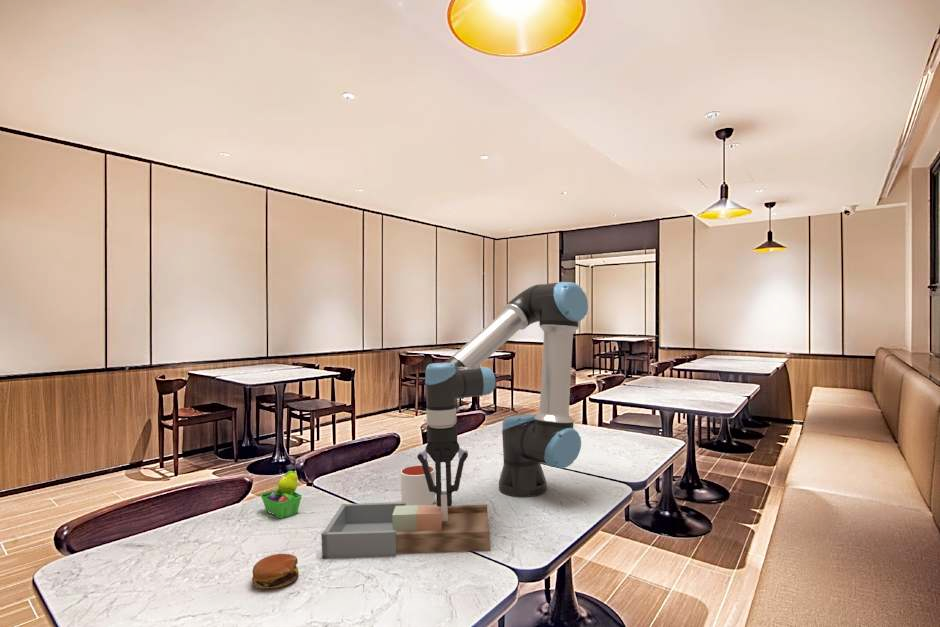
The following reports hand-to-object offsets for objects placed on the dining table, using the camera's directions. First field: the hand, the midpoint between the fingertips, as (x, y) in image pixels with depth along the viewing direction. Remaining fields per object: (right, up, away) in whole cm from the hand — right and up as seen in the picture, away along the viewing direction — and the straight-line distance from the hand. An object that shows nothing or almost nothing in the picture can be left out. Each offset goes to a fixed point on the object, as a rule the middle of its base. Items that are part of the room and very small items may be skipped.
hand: (444, 518), depth 128 cm
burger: (-35, -6, -19) cm, 40 cm away
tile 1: (-10, -2, 0) cm, 10 cm away
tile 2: (-4, -2, 0) cm, 4 cm away
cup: (-9, -5, +23) cm, 25 cm away
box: (-19, -5, 0) cm, 20 cm away
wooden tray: (0, -5, 0) cm, 5 cm away
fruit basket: (-48, -6, +20) cm, 52 cm away
